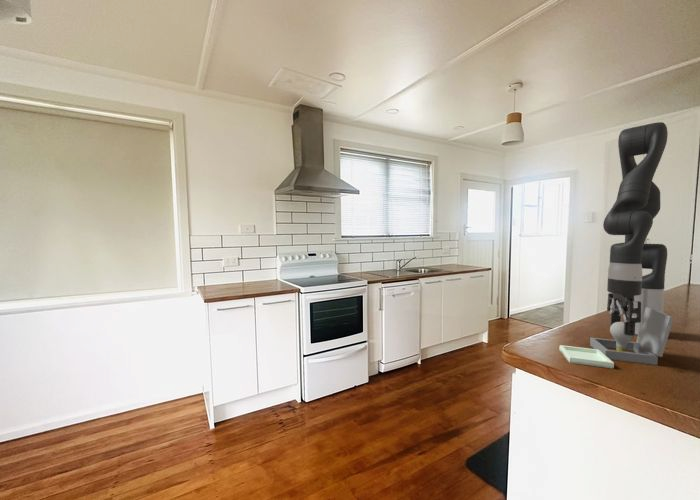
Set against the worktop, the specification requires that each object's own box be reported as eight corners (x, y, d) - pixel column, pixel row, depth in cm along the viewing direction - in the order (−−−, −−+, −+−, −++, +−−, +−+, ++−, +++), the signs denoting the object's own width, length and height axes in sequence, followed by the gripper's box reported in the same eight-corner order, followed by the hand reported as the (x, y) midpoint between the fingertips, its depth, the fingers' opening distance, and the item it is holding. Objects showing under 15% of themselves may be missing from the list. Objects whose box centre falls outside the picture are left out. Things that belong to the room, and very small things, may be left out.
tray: (559, 349, 92) (559, 345, 92) (598, 354, 89) (598, 349, 88) (569, 362, 83) (569, 357, 83) (613, 368, 79) (614, 363, 79)
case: (590, 344, 96) (590, 337, 96) (635, 349, 92) (635, 342, 92) (605, 358, 86) (605, 350, 86) (657, 365, 81) (657, 356, 81)
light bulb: (638, 358, 86) (639, 325, 85) (616, 357, 87) (618, 324, 86) (624, 351, 91) (626, 320, 90) (604, 350, 92) (606, 319, 92)
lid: (646, 306, 91) (651, 308, 90) (635, 341, 92) (641, 343, 91) (670, 316, 80) (676, 318, 79) (658, 356, 81) (664, 357, 81)
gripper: (655, 282, 80) (651, 340, 80) (628, 275, 93) (625, 326, 93) (620, 280, 82) (617, 336, 83) (598, 274, 96) (596, 323, 96)
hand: (621, 330), depth 88 cm, fingers open, 8 cm apart
